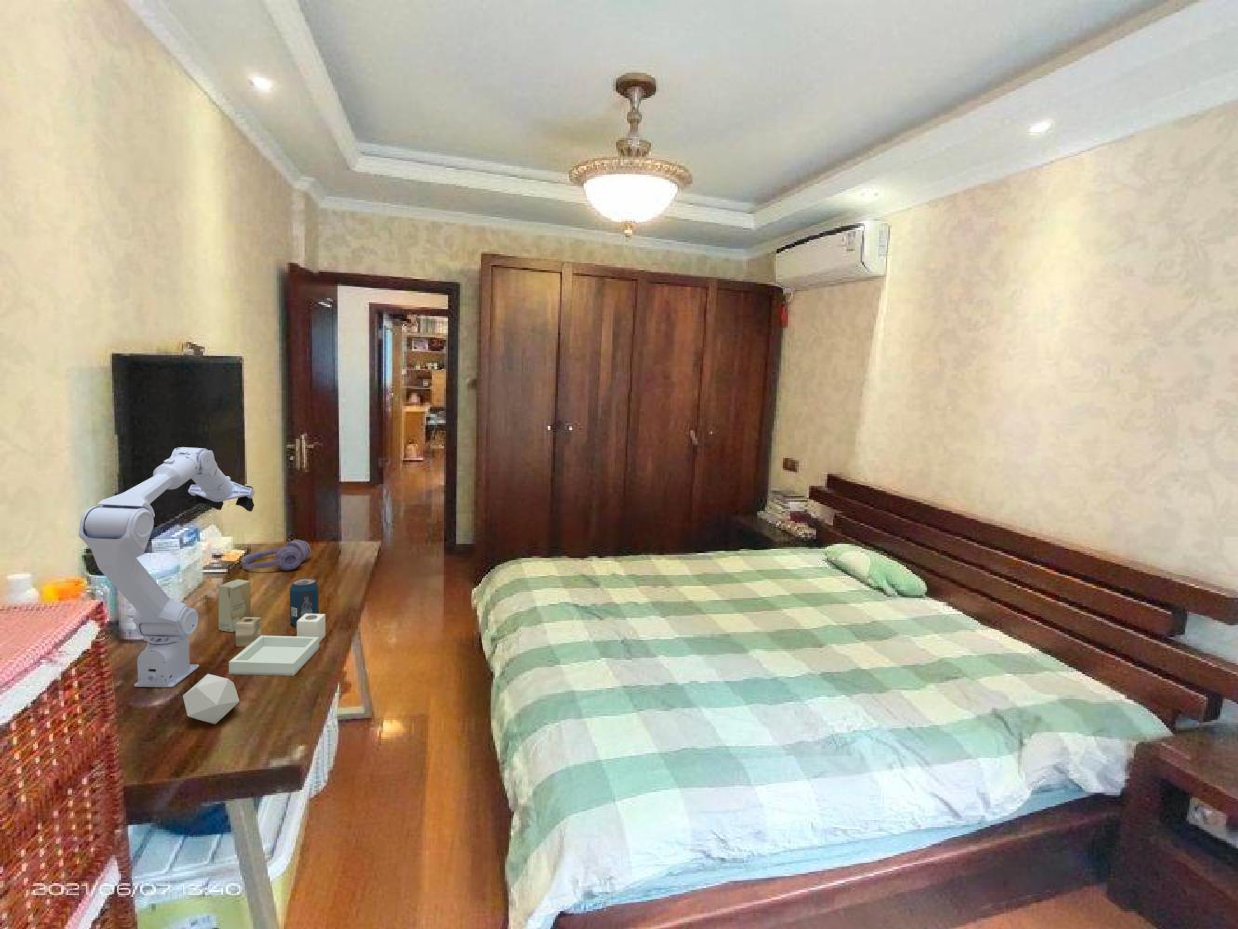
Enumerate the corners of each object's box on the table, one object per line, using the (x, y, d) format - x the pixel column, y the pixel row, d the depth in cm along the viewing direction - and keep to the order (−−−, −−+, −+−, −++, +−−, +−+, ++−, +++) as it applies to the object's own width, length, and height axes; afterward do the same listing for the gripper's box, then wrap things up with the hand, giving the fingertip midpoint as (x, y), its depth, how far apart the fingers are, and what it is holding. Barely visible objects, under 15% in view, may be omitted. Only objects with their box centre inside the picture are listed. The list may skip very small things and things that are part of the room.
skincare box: (232, 633, 154) (231, 588, 152) (218, 630, 155) (216, 585, 153) (252, 623, 160) (251, 580, 159) (238, 621, 161) (237, 578, 159)
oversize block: (317, 644, 151) (317, 621, 151) (296, 643, 151) (296, 620, 150) (325, 635, 156) (325, 613, 155) (305, 635, 156) (305, 613, 155)
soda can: (305, 616, 167) (305, 575, 166) (324, 621, 165) (324, 579, 163) (284, 625, 161) (283, 582, 159) (303, 630, 159) (303, 587, 157)
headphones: (316, 556, 218) (257, 564, 214) (312, 535, 216) (253, 542, 213) (298, 572, 200) (234, 581, 196) (294, 549, 198) (229, 557, 195)
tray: (293, 675, 135) (293, 663, 135) (229, 674, 134) (228, 661, 134) (319, 648, 149) (319, 637, 149) (261, 646, 148) (260, 635, 147)
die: (249, 714, 121) (241, 666, 124) (225, 716, 112) (217, 664, 115) (205, 731, 119) (198, 682, 122) (177, 734, 111) (170, 681, 114)
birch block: (252, 646, 148) (252, 623, 147) (235, 646, 147) (235, 623, 146) (261, 639, 152) (260, 617, 151) (244, 639, 151) (244, 616, 150)
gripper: (248, 468, 146) (270, 495, 158) (186, 465, 145) (212, 492, 156) (238, 493, 142) (261, 519, 154) (175, 489, 141) (202, 516, 153)
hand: (236, 507), depth 155 cm, fingers open, 7 cm apart
